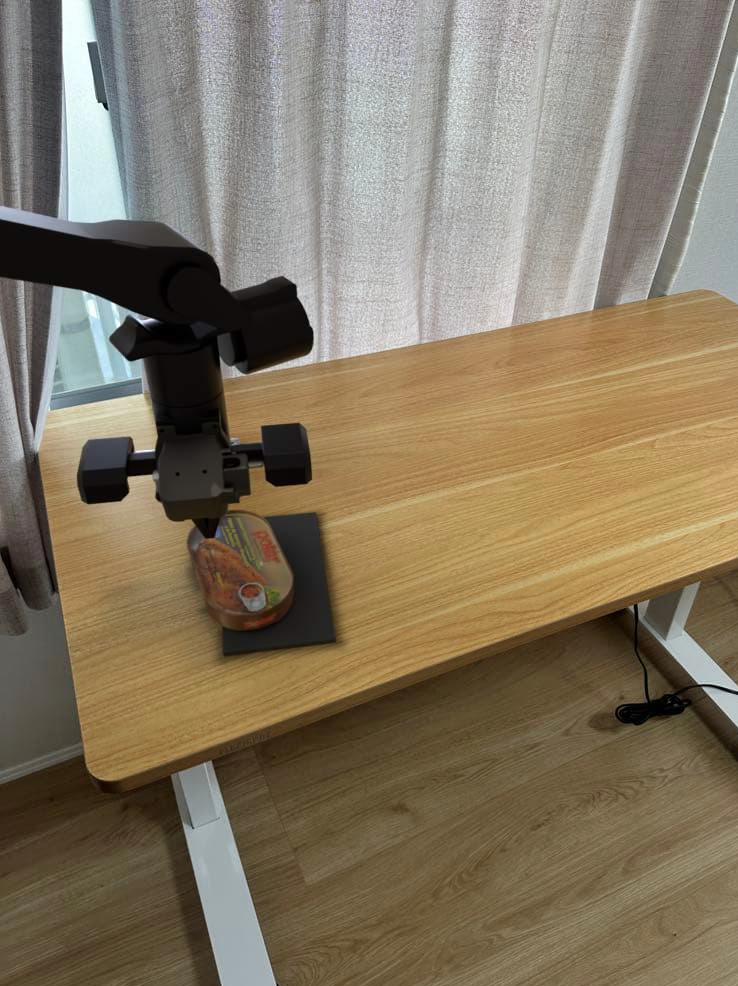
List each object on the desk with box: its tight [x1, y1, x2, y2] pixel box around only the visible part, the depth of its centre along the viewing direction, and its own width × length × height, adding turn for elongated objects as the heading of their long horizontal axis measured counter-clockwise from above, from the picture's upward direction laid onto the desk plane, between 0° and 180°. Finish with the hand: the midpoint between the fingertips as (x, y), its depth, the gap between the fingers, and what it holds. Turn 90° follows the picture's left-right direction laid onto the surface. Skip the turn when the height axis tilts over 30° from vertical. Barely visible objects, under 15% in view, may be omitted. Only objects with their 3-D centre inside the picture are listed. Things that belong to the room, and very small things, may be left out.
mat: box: [222, 511, 337, 656], centre depth 79 cm, size 10×18×1 cm, turn 11°
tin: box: [185, 509, 294, 631], centre depth 78 cm, size 15×3×8 cm
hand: (210, 535), depth 73 cm, fingers closed
